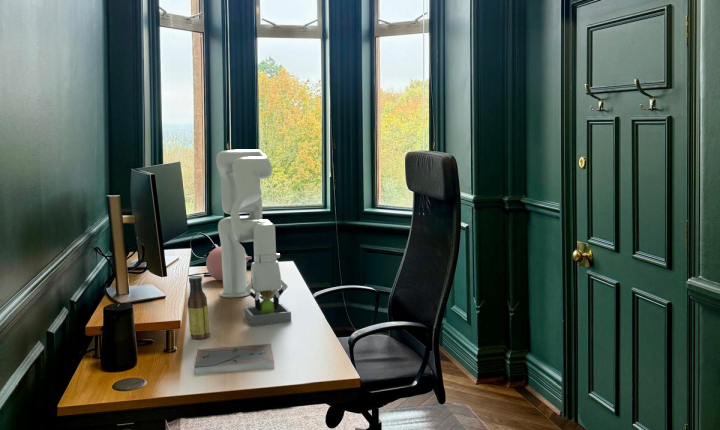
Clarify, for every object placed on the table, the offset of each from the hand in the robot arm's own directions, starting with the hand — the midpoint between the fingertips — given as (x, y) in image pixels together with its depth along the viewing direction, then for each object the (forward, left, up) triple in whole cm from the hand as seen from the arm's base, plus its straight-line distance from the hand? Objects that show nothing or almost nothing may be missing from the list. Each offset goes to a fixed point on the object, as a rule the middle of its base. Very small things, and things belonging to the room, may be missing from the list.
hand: (267, 308), depth 242 cm
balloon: (-71, 0, -4) cm, 71 cm away
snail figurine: (0, 0, -2) cm, 2 cm away
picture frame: (+39, -19, -5) cm, 44 cm away
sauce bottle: (+11, -25, -4) cm, 28 cm away
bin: (0, 0, -4) cm, 4 cm away
